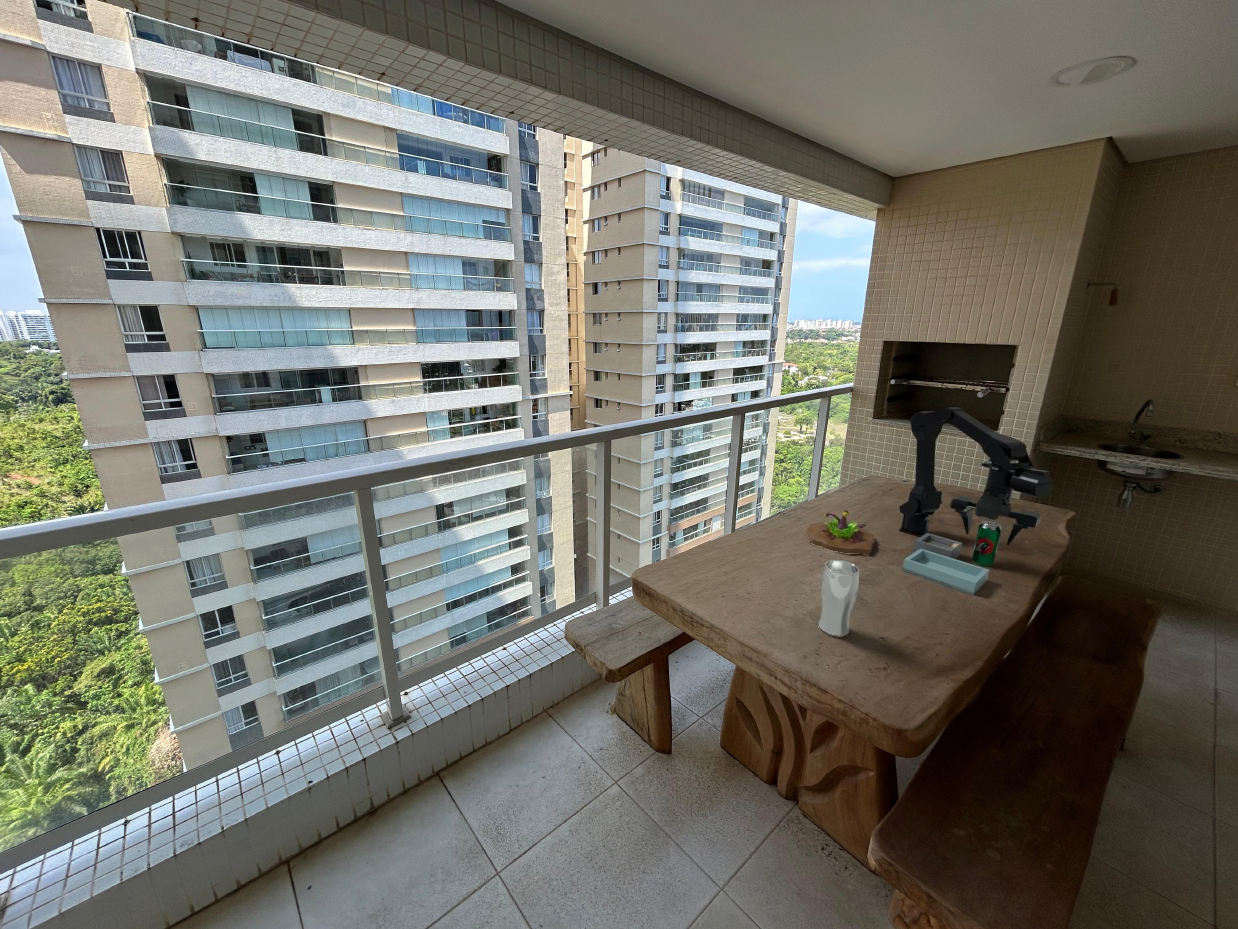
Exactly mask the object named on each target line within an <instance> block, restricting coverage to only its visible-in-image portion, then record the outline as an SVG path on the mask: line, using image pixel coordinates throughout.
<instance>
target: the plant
mask: <svg viewBox="0 0 1238 929" xmlns="http://www.w3.org/2000/svg"><path fill="white" fill-rule="evenodd" d="M842 512H843V513H842V516H841V518H839V517H838V516H837V515H836V514H834V513H831V512H829V513H828V512H827V513H826V512H825V513H824V514H823V517H824V518H828V517H829V516H832V517H833V518H834V521H833V520H831V519H830V521H828V522H827V521H824V522H815V523H810V524H809V527H807V528H806V531H805V534H806V533H807V535H808V537H809V539H808V541H809V540H810V542H811V543H813V544H815V545H818V546H822V547H823V548H826V549H829V550H833V551H838V552H843V553H859V554H866V555H869V554H870V553H871V554H872V551H873V549H874V545H876V542H877V539H876V538H875V537H874V536H875V535H874V534H873V533H871V532H868V531H867V529H864V528H862V527H859V526H857V525H858V523H857V522H851V523H847V522H848V521H847V517H848V515H849V514H850V511H848V510H847V509H845V510H843V511H842ZM807 535H806V536H807ZM808 537H807V538H808ZM810 542H809V543H810ZM873 544H874V545H873ZM871 554H870V555H871ZM870 555H869V556H870Z"/></svg>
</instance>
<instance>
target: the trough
mask: <svg viewBox="0 0 1238 929" xmlns="http://www.w3.org/2000/svg"><path fill="white" fill-rule="evenodd" d="M903 570H904V571H903ZM902 571H903V572H907V573H908V572H909V574H911V573H912V575H914V576H917V577H920V578H923V579H925V578H926V580H929V581H932V582H935V583H937V584H940V585H942V584H943V585H942V586H945V585H946V586H945V587H949V588H951V589H954V590H956V591H960V592H962V593H965V594H968V595H971V596H974V595H975V594H976V593H977V592H978V591H979V590H980V589H981V588H982V587H983V586H984V585H985V584H986V582H987V581H988V577H989V573H990V569H988V568H984V567H981V566H980V565H974V564H972V563H969V562H965V561H962V560H959V559H957V558H956V559H953V558H949V557H946V556H943V555H940V554H937V553H933V552H930V551H927V550H924V549H919V550H917V551H916V552H914V553H913V552H912V553H911V554H910V555H909V556H907V557H905V558H904V560H903V565H902Z"/></svg>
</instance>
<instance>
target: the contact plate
mask: <svg viewBox="0 0 1238 929" xmlns="http://www.w3.org/2000/svg"><path fill="white" fill-rule="evenodd" d="M927 543H929V544H933V545H936V546H939V547H943V548H946V549H949V548H951V546H948V545H945V544H941V543H938V542H934V541H931V540H930V541H928V542H927Z"/></svg>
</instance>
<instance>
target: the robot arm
mask: <svg viewBox="0 0 1238 929" xmlns="http://www.w3.org/2000/svg"><path fill="white" fill-rule="evenodd" d="M947 424H950V425H951V426H953V427H955V428H956V429H957V430H958V431H960V432H961V433H963V434H964V435H966V436H967V437H969V438H970V439H972V440H973V441H974V442H976V443H977V444H978V445H979V446H980V447H981V449H982V452H983V453H984V454H985V455H986V456H987V457H988V458H989V459H988V460H987V461H985V462H983V463H981V464H980V465H981V467H984V468H988V472H987V478H986V482H985V487H984V490H983V493H982V495H981V497H979V499H978V501H977V502H975V499H974V498H973V497H968V496H963V495H958V496H956V497H954V498H952V499H951V501H950V504H949V508H950V509H953V510H954V512H956V513H957V514H959V515H960V516H961V519H962V522H963V526H964V532H965V535H969V534H970V532H971V531H970V530H971V527H972V520H973V513H974V515H975V516H977V517H980V518H981V517H983V518H986V519H988V520H992V521H993V520H998V519H999V517H1005V518H1010V519H1014V520H1015V522H1014V523H1013V525H1012V528H1011V532H1010V534H1009V535H1008V539H1007V542H1006V546H1010V545H1011V543H1012V542H1013V541H1014V540H1015V538H1016V537H1017V536H1018V534H1019V533H1020V532H1021V531H1022V530H1028V529H1030V528H1031V529H1032V528H1036V527H1037V526H1039V525H1040V523H1041V520H1042V514H1041V513H1040V512H1036V511H1033V510H1028V509H1021V510H1020V511H1014V510H1012V503H1011V499H1012V494H1013V491H1014V492H1016V493H1021V494H1023V495H1027V496H1030V497H1034V498H1038V499H1044V498H1045V497H1047V496H1048V495H1049V494H1050V493H1051V492H1052V489H1053V488H1054V484H1053V479H1052V477H1050V474H1051V473H1050V471H1049V470H1045V469H1043V470H1042V469H1041V470H1040V469H1038V468H1037V469H1036V468H1035V465H1034V463H1033V461H1032V458H1031V457H1030V456H1029V454H1028V451H1027V445H1026V444H1025V443H1024V442H1023V441H1021V440H1019V439H1017V438H1014V437H1012V436H1010V435H1009V436H1008V435H1005V434H1002V433H998V432H997V431H995V430H993V429H992V428H990V427H989V426H987V425H985V424H984V423H982V422H981V421H979V420H978V419H976V418H975V417H973V416H971V415H970V414H968V413H967V412H965V410H964V409H963V408H961V407H946V408H943V409H939V410H934V411H933V410H931V411H929V410H928V411H918V412H915V413H914V414H913V415H912V416H911V418H910V430H911V433H912V435H913V436H914V438H915V439H916V448H915V449H916V454H915V455H916V456H915V484H914V486H913V488H912V489H911V490H910V492H909V496H908V501H906V502H903V504H901V505H899V506H898V507H899V508H898V509H899V513H901V514H902V516H903V517H902V522H901V527H899V528H898V531H900V532H903V533H907V534H909V535H913V536H915V537H916V536H917V537H922V536H923V535H925V534H927V533H928V531H929V528H930V520H929V517H930V516H933V515H934V514H935V513H936V511H937V510H939V509H940V507H941V505H943V501H942V496H943V492H942V490H938V489H937V487H936V485H935V469H936V468H935V466H936V463H935V462H936V444H937V443H936V441H937V438H938V437H940V434H941V432H942V430H943V427H944V426H943V425H947ZM974 510H975V511H974Z"/></svg>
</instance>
